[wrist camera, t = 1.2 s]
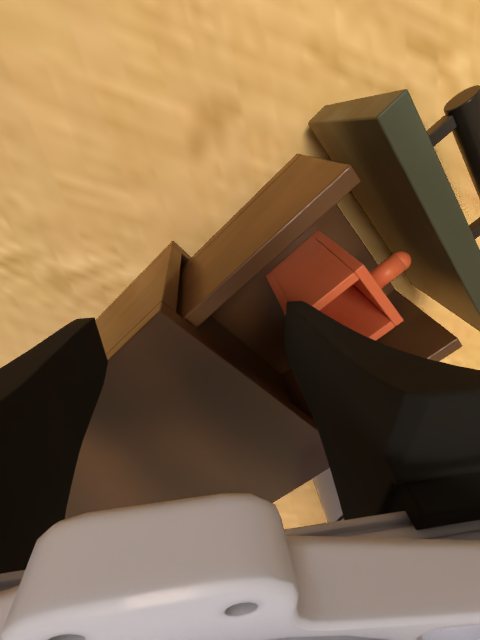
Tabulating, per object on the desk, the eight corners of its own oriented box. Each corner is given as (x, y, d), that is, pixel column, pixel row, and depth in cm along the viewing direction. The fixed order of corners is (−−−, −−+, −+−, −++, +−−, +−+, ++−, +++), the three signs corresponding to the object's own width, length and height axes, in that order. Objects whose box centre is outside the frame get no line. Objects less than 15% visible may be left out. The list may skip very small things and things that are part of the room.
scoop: (303, 315, 21) (335, 369, 16) (265, 275, 19) (289, 324, 15) (380, 253, 20) (442, 293, 15) (347, 203, 18) (406, 230, 13)
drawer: (396, 32, 15) (541, -39, 9) (481, 231, 21) (601, 272, 15) (155, 276, 20) (137, 341, 14) (281, 380, 26) (309, 457, 20)
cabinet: (172, 240, 20) (159, 310, 12) (304, 361, 26) (350, 455, 19) (44, 373, 24) (-29, 490, 16) (186, 448, 30) (184, 557, 22)
